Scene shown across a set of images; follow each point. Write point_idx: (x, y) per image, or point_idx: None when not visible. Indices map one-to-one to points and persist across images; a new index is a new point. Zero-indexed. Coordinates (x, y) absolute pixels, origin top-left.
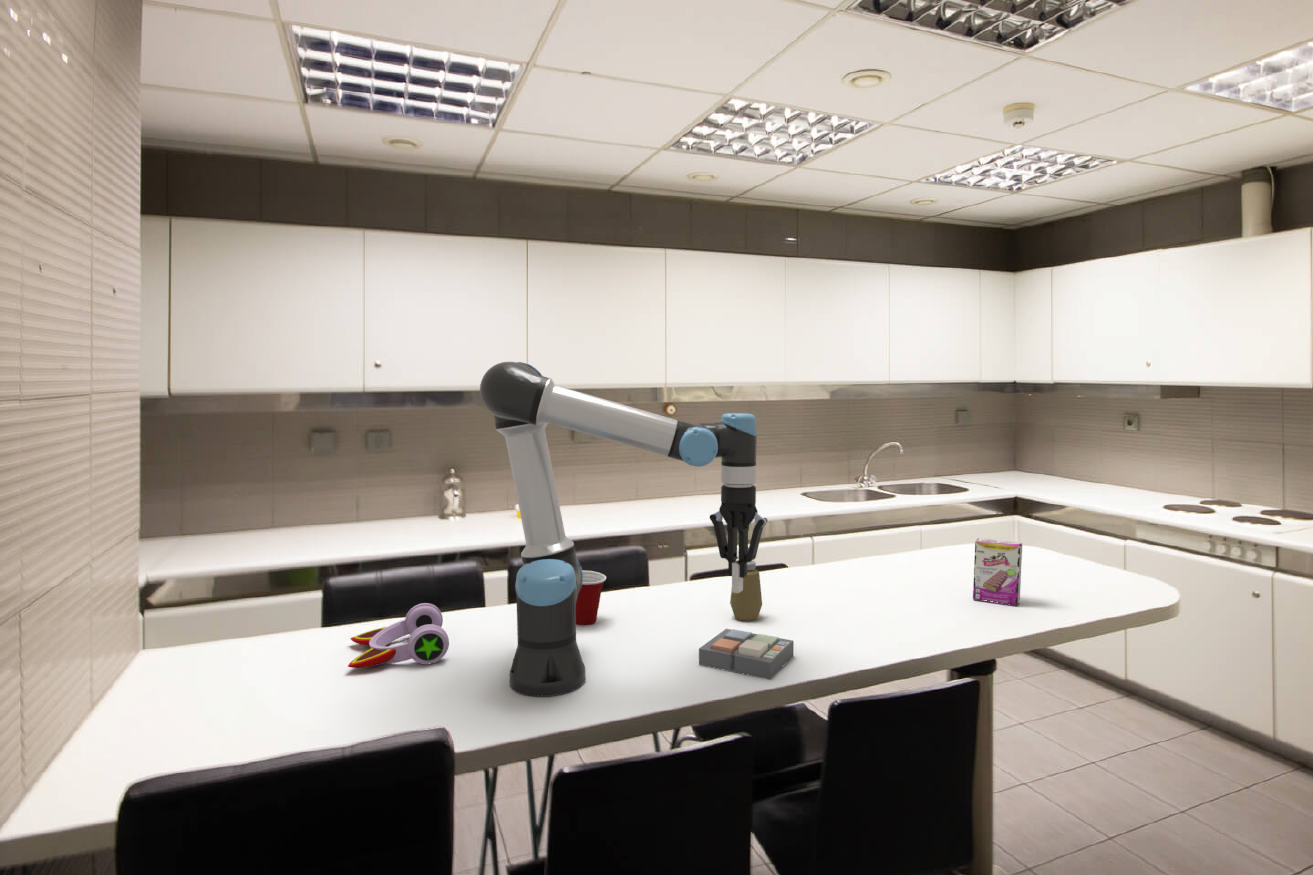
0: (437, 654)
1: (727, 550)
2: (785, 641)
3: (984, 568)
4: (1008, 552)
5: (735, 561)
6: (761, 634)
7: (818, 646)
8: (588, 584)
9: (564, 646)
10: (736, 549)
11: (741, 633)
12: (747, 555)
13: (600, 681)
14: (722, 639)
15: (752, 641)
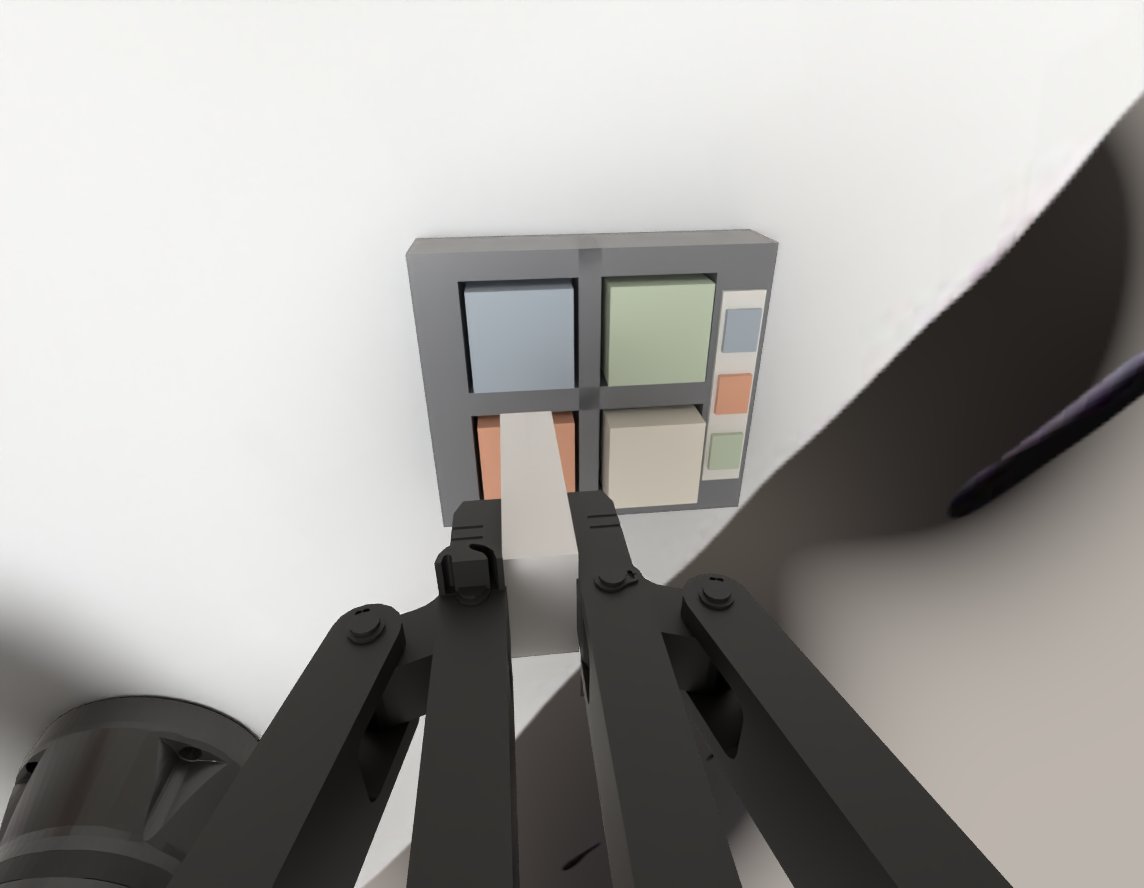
0: None
1: (381, 683)
2: (744, 276)
3: None
4: None
5: (511, 602)
6: (627, 290)
7: (844, 22)
8: None
9: None
10: (508, 685)
11: (532, 326)
12: (697, 717)
13: (279, 707)
14: (492, 437)
15: (639, 439)
